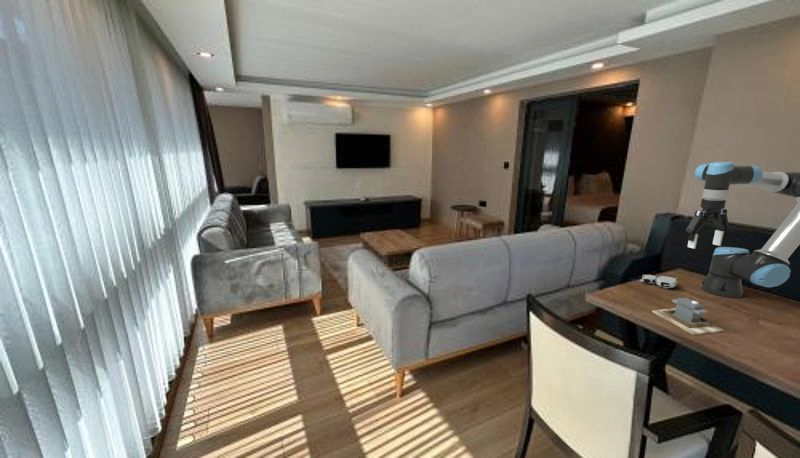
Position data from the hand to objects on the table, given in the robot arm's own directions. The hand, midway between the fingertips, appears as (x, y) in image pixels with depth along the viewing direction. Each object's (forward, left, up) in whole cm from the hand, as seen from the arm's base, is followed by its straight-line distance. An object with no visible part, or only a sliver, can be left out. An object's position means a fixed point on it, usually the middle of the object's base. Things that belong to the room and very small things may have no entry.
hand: (703, 246), depth 141 cm
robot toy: (-6, -22, -29) cm, 37 cm away
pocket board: (+16, +12, -29) cm, 35 cm away
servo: (+16, +12, -28) cm, 34 cm away
